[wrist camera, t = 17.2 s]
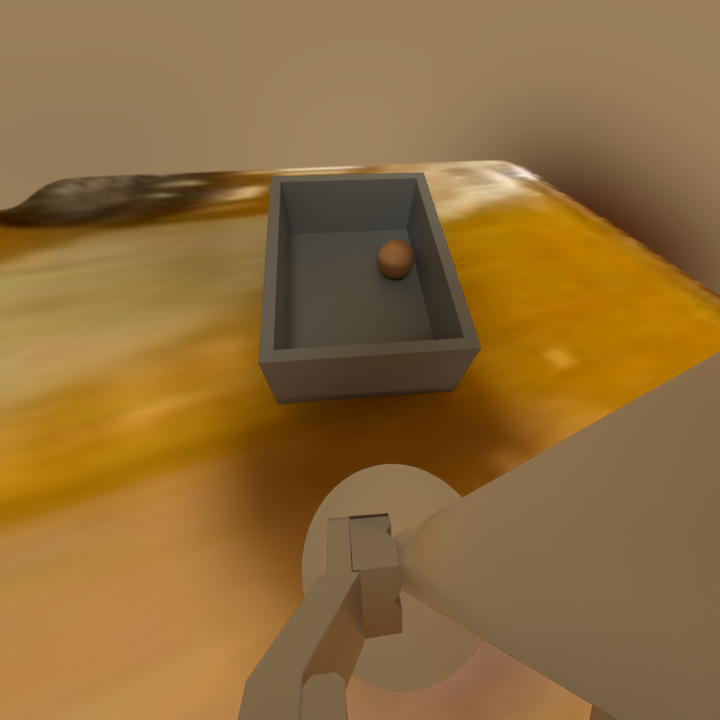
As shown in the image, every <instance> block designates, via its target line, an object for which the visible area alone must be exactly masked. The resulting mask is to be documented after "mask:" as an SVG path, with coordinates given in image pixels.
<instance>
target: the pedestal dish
mask: <svg viewBox="0 0 720 720" xmlns="http://www.w3.org/2000/svg"><path fill="white" fill-rule="evenodd" d="M384 513H388V515H389V518H390V522H391V537H392V538H393V539H395V543H396V548H397V552H398V560H399V566H400V574H401V593H400V594H399V597H400V602H401V607H402V633H399V634H393V635H387V636H380V637H374V638H368V639H364V645H363V647H362V650H361V652H360V655H359V657H358V660H357V663H356V665H355V668H354V670H353V673H352V674H353V675H354V676H355V677H357V678H359V679H360V680H362V681H364V682H366V683H368V684H370V685H373V686H376V687H379V688H383V689H387V690H394V691H414V690H419V689H423V688H427V687H430V686H432V685H435V684H437V683H439V682H442V681H443V680H445V679H446V678H448V677H449V676H451V675H452V674H454V673H455V672H456V671H457V670H458V669H459V668H460V667H461V666H462V665H464V664H465V662H466V661H467V660H468V659H469V657H470V656H471V655H472V654H473V652H474V651H475V649H476V647H477V646H478V644H479V642H480V640H481V639H484V640H485V641H487V642H489V643H490V644H492V645H494V646H495V647H497V648H499V649H500V650H502V651H504V652H505V653H507V654H509V655H510V656H512V657H514V658H515V659H517V660H519V661H520V662H522V663H524V664H525V665H527V666H529V667H530V668H532V669H534V670H535V671H537V672H539V673H540V674H542V675H544V676H545V677H547V678H549V679H550V680H552V681H554V682H555V683H557V684H559V685H560V686H562V687H564V688H565V689H567V690H569V691H570V692H572V693H574V694H575V695H577V696H579V697H580V698H582V699H584V700H585V701H587V702H589V703H590V704H592V705H594V706H595V707H597V708H599V709H600V710H602V711H604V712H605V713H607V714H609V715H610V716H612V717H614V718H615V719H617V720H720V352H718V353H717V354H715V355H713V356H711V357H710V358H708V359H706V360H704V361H703V362H701V363H699V364H697V365H695V366H694V367H692V368H690V369H688V370H687V371H685V372H683V373H681V374H680V375H678V376H676V377H674V378H673V379H671V380H669V381H667V382H665V383H664V384H662V385H660V386H658V387H657V388H655V389H653V390H651V391H650V392H648V393H646V394H644V395H643V396H641V397H639V398H637V399H635V400H634V401H632V402H630V403H628V404H627V405H625V406H623V407H621V408H620V409H618V410H616V411H614V412H612V413H611V414H609V415H607V416H605V417H604V418H602V419H600V420H598V421H597V422H595V423H593V424H591V425H590V426H588V427H586V428H584V429H582V430H581V431H579V432H577V433H575V434H574V435H572V436H570V437H568V438H567V439H565V440H563V441H561V442H559V443H558V444H556V445H554V446H552V447H551V448H549V449H547V450H545V451H544V452H542V453H540V454H538V455H537V456H535V457H533V458H531V459H529V460H528V461H526V462H524V463H522V464H521V465H519V466H517V467H515V468H514V469H512V470H510V471H508V472H506V473H505V474H503V475H501V476H499V477H498V478H496V479H494V480H492V481H491V482H489V483H487V484H485V485H484V486H482V487H480V488H478V489H476V490H475V491H473V492H471V493H469V494H468V495H466V496H464V497H461V496H460V495H459V494H458V493H457V492H456V491H455V490H454V489H453V488H451V487H450V486H449V485H448V484H447V483H445V482H444V481H442V480H441V479H440V478H438V477H436V476H435V475H433V474H431V473H429V472H427V471H424V470H422V469H419V468H416V467H412V466H408V465H401V464H383V465H376V466H372V467H369V468H365V469H363V470H360V471H358V472H356V473H354V474H352V475H351V476H349V477H347V478H346V479H344V480H343V481H342V482H341V483H339V484H338V485H337V486H336V487H335V488H334V489H333V490H332V491H331V492H330V493H329V494H328V495H327V496H326V498H325V499H324V500H323V502H322V503H321V505H320V506H319V508H318V510H317V511H316V513H315V515H314V517H313V519H312V522H311V524H310V526H309V529H308V532H307V536H306V539H305V543H304V549H303V555H302V571H301V572H302V587H303V593H304V598H305V597H306V595H307V594H308V592H309V591H310V589H311V588H312V587H313V585H314V584H315V582H316V581H317V580H318V578H319V577H320V576H323V575H327V522H328V518H338V517H348V519H349V516H359V515H371V514H384ZM349 531H350V528H349ZM350 544H351V542H350Z"/></svg>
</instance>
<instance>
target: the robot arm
mask: <svg viewBox="0 0 720 720" xmlns="http://www.w3.org/2000/svg"><path fill="white" fill-rule="evenodd" d="M349 528H350V531H349ZM350 542H351V544H350ZM400 593H401V574H400V566H399V560H398V552H397V548H396V543H395V539H393V538H392V537H391V522H390V518H389V515H388V513H384V514H371V515H359V516H349V519H348V517H338V518H328V522H327V575H323V576H320V577H319V578H318V580H317V581H316V582H315V584H314V585H313V587H312V588H311V589H310V591H309V592H308V594H307V595H306V597H305V598H304V599H303V601H302V602H301V604H300V605H299V607H298V608H297V609H296V611H295V612H294V614H293V615H292V617H291V618H290V619H289V621H288V622H287V624H286V625H285V626H284V628H283V629H282V631H281V632H280V634H279V635H278V636H277V638H276V639H275V641H274V642H273V644H272V645H271V646H270V648H269V649H268V651H267V652H266V654H265V655H264V656H263V658H262V659H261V661H260V662H259V663H258V665H257V666H256V668H255V669H254V671H253V672H252V673H251V675H250V676H249V678H248V679H247V681H246V683H245V688H244V693H243V697H242V702H241V707H240V712H239V716H238V720H348V714H347V703H346V688H347V686H348V683H349V681H350V678H351V675H352V673H353V670H354V668H355V665H356V663H357V660H358V657H359V655H360V652H361V650H362V647H363V645H364V639H368V638H374V637H380V636H387V635H393V634H399V633H402V607H401V602H400V597H399V594H400ZM590 720H617V719H615V718H614V717H612V716H610V715H609V714H607V713H605V712H604V711H602V710H600V709H599V708H597V707H595V706H594V705H592V709H591V714H590Z"/></svg>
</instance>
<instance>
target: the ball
mask: <svg viewBox="0 0 720 720" xmlns="http://www.w3.org/2000/svg"><path fill="white" fill-rule="evenodd" d="M414 261H415V256H414V252H413V249H412V248H411V246H410V245H409V244H408V243H406V242H405V241H402V240H391V241H388V242H386V243H385V244H384V245H383V246H382V247H381V248H380V250H379V252H378V255H377V264H378V267H379V269H380V271H381V272H382V273H383V274H384V275H385V276H387V277H389V278H393V279H398V278H402V277H404V276H406V275H407V274H408V273H409V272H410V271H411V269H412V268H413V265H414Z"/></svg>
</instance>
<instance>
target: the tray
mask: <svg viewBox="0 0 720 720" xmlns="http://www.w3.org/2000/svg"><path fill="white" fill-rule="evenodd" d="M391 240H402V241H405V242H406V243H408V244H409V245H410V246H411V248H412V249H413V252H414V256H415V261H414V265H413V268H412V269H411V271H410V272H409V273H408V274H407V275H406V276H404V277H402V278H398V279H393V278H389V277H387V276H385V275H384V274H383V273H382V272H381V271H380V269H379V267H378V264H377V255H378V252H379V250H380V248H381V247H382V246H383V245H384V244H385V243H386V242H388V241H391ZM480 349H481V347H480V344H479V341H478V338H477V335H476V332H475V329H474V325H473V322H472V319H471V316H470V313H469V310H468V307H467V304H466V301H465V298H464V295H463V292H462V289H461V286H460V283H459V280H458V277H457V273H456V270H455V267H454V264H453V261H452V258H451V255H450V252H449V249H448V246H447V243H446V240H445V237H444V234H443V231H442V228H441V224H440V221H439V218H438V215H437V212H436V209H435V206H434V203H433V200H432V197H431V194H430V191H429V188H428V185H427V182H426V179H425V176H424V172H423V173H386V174H348V175H310V176H273V177H271V185H270V200H269V215H268V230H267V245H266V259H265V274H264V289H263V304H262V319H261V334H260V349H259V365H260V367H261V369H262V371H263V373H264V376H265V378H266V380H267V382H268V384H269V386H270V388H271V390H272V392H273V394H274V396H275V399H276V401H277V403H278V404H285V403H298V402H312V401H325V400H338V399H351V398H364V397H378V396H391V395H404V394H417V393H430V392H444V391H454V389H455V388H456V386H457V384H458V383H459V381H460V380H461V378H462V377H463V375H464V374H465V372H466V371H467V369H468V367H469V366H470V364H471V363H472V361H473V360H474V358H475V357H476V355H477V354H478V352H479V350H480Z"/></svg>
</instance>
